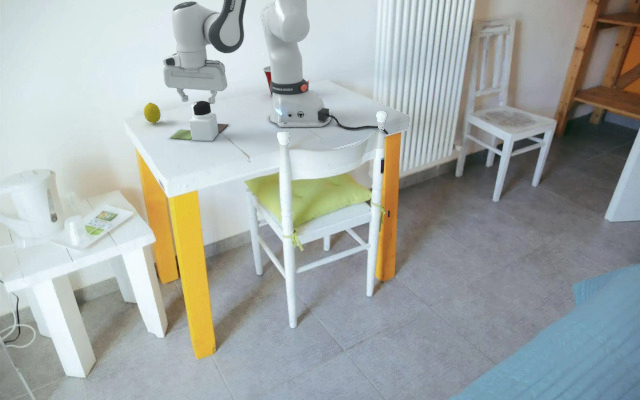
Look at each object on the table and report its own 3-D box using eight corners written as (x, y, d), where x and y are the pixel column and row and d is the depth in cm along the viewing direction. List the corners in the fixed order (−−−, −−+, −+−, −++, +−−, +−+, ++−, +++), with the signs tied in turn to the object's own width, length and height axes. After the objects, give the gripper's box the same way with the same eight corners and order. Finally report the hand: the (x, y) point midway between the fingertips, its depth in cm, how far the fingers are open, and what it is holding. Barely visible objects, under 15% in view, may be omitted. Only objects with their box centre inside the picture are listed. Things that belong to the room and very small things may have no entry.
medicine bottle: (218, 132, 159) (214, 99, 153) (212, 141, 153) (207, 106, 147) (198, 132, 160) (193, 98, 154) (191, 140, 154) (185, 106, 148)
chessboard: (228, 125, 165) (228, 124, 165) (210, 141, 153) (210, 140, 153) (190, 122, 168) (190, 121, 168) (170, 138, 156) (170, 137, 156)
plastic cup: (279, 89, 199) (277, 61, 193) (296, 95, 193) (294, 66, 186) (259, 96, 192) (256, 67, 186) (276, 101, 186) (274, 71, 180)
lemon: (165, 123, 168) (160, 102, 164) (151, 127, 165) (146, 106, 161) (157, 119, 171) (153, 98, 167) (143, 124, 168) (138, 102, 164)
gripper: (227, 58, 144) (232, 101, 151) (168, 55, 148) (175, 97, 155) (219, 63, 138) (224, 107, 145) (157, 59, 142) (165, 103, 149)
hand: (198, 102), depth 150 cm, fingers open, 8 cm apart
